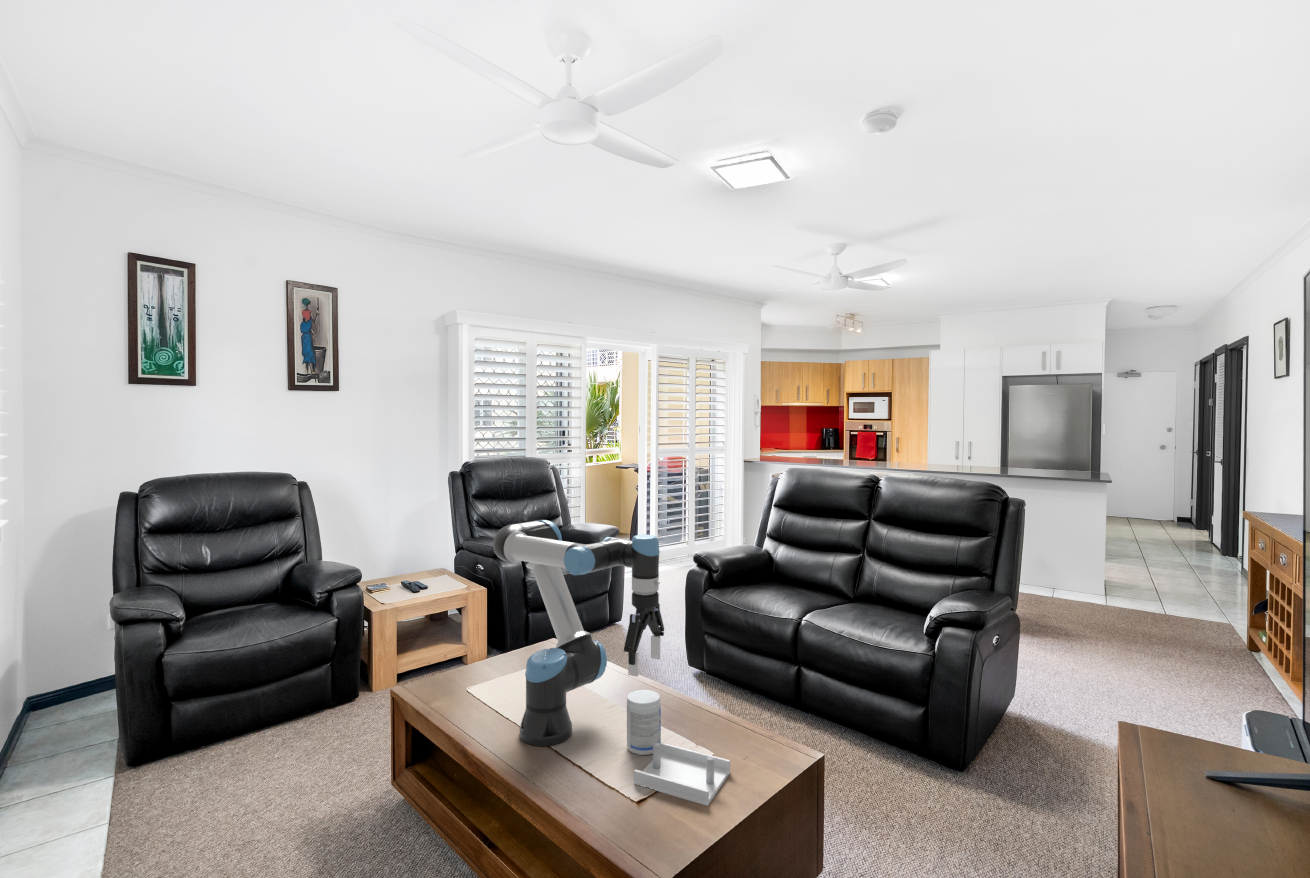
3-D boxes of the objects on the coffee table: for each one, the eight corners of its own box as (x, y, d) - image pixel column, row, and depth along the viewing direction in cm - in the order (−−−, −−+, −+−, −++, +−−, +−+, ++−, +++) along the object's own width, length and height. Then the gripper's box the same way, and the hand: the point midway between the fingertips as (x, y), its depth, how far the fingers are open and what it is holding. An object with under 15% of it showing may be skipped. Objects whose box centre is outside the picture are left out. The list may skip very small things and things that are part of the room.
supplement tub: (667, 750, 180) (667, 698, 179) (638, 760, 175) (638, 707, 174) (648, 735, 188) (648, 686, 187) (620, 744, 183) (620, 693, 182)
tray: (633, 784, 163) (634, 757, 163) (661, 754, 178) (661, 729, 177) (707, 805, 154) (707, 777, 154) (730, 772, 169) (730, 746, 169)
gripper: (636, 604, 167) (635, 685, 167) (676, 582, 189) (675, 654, 190) (611, 601, 170) (610, 680, 171) (653, 579, 192) (652, 649, 193)
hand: (644, 666), depth 180 cm, fingers open, 13 cm apart
